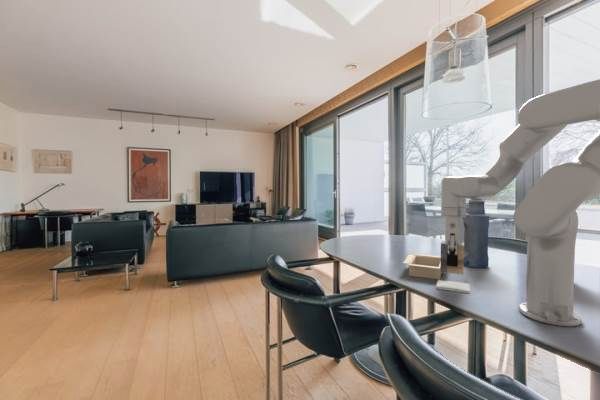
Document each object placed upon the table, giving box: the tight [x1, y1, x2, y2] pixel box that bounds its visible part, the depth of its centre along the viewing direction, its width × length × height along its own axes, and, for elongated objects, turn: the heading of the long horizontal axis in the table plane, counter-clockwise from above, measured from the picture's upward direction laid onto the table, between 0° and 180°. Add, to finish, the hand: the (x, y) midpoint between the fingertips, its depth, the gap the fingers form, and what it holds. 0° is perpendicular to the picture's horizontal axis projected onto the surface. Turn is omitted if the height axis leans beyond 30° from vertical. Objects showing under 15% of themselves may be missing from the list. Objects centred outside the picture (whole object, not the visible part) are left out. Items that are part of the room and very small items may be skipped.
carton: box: [402, 253, 443, 280], centre depth 117 cm, size 20×16×5 cm
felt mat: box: [435, 279, 471, 294], centre depth 99 cm, size 8×10×1 cm
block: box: [440, 240, 465, 276], centre depth 99 cm, size 5×7×10 cm
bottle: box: [462, 198, 490, 269], centre depth 124 cm, size 10×10×30 cm
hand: (452, 263), depth 99 cm, fingers closed on block, 4 cm apart
